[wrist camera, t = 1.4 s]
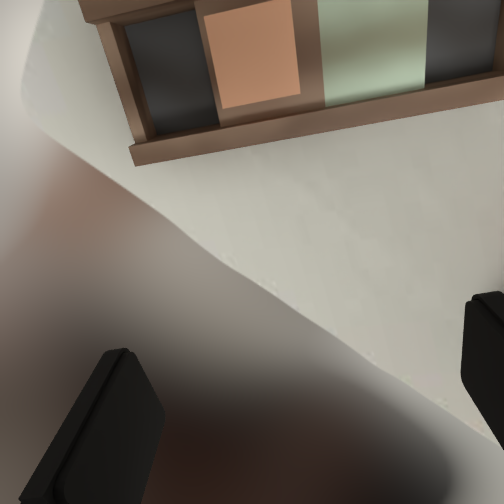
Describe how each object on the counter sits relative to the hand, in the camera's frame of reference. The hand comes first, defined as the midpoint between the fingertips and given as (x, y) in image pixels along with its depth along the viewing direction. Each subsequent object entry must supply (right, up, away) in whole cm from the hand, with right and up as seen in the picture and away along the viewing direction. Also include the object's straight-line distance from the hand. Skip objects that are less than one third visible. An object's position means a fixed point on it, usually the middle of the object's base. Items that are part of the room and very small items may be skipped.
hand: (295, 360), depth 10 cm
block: (-1, +17, +14) cm, 22 cm away
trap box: (+3, +19, +16) cm, 25 cm away
